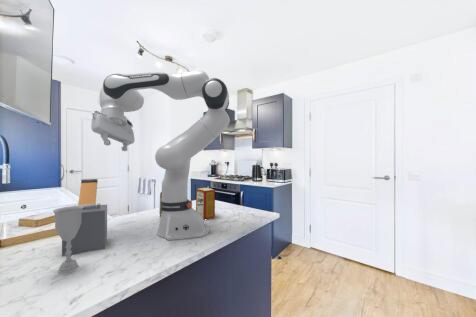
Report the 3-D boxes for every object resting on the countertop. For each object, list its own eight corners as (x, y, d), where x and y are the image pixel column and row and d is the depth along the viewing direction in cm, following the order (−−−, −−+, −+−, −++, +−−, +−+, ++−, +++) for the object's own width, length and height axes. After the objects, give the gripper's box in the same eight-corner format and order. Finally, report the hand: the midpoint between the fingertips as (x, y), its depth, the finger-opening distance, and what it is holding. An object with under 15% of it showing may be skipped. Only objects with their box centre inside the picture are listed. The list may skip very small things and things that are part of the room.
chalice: (65, 263, 63) (66, 205, 63) (88, 262, 64) (89, 205, 63) (45, 277, 56) (45, 212, 56) (71, 276, 56) (71, 212, 56)
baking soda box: (195, 216, 115) (196, 188, 114) (205, 214, 119) (206, 187, 119) (204, 220, 107) (204, 190, 107) (214, 217, 111) (215, 189, 111)
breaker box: (69, 244, 76) (69, 204, 76) (107, 238, 82) (107, 201, 82) (61, 256, 67) (62, 210, 67) (104, 248, 73) (104, 206, 73)
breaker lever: (78, 210, 74) (82, 181, 80) (95, 208, 76) (97, 180, 82) (77, 208, 72) (81, 178, 78) (94, 206, 75) (97, 178, 81)
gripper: (99, 106, 79) (102, 137, 75) (135, 125, 98) (138, 151, 95) (85, 111, 79) (87, 143, 76) (123, 129, 99) (127, 155, 95)
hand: (116, 147), depth 85 cm, fingers open, 8 cm apart
